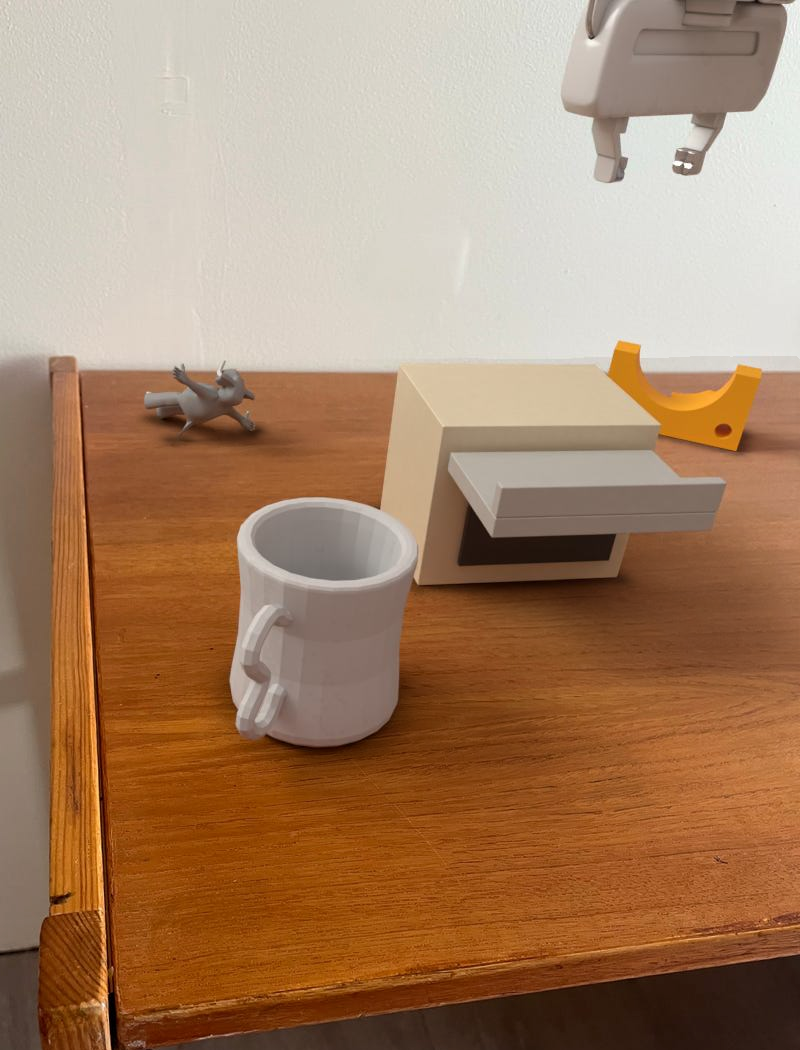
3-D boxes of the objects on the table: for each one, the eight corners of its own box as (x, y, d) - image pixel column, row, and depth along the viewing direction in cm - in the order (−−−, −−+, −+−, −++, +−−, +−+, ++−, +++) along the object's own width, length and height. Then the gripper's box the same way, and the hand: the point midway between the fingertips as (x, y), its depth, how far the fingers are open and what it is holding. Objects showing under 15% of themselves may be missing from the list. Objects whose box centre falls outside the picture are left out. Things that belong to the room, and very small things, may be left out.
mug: (281, 631, 61) (292, 478, 55) (422, 684, 58) (449, 528, 52) (159, 749, 52) (157, 580, 46) (320, 819, 49) (340, 648, 43)
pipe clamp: (738, 432, 92) (762, 362, 88) (736, 451, 88) (760, 378, 84) (603, 403, 95) (621, 334, 91) (596, 420, 91) (614, 349, 88)
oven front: (560, 506, 77) (596, 358, 70) (677, 652, 62) (736, 482, 56) (379, 510, 74) (399, 356, 68) (457, 665, 60) (492, 487, 53)
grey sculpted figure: (200, 400, 88) (285, 391, 83) (185, 466, 87) (269, 461, 82) (118, 343, 80) (206, 329, 75) (100, 414, 79) (188, 405, 74)
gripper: (637, -37, 65) (588, 196, 73) (818, -24, 76) (757, 178, 84) (563, -45, 69) (524, 176, 77) (745, -32, 80) (694, 162, 88)
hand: (647, 177), depth 80 cm, fingers open, 8 cm apart
